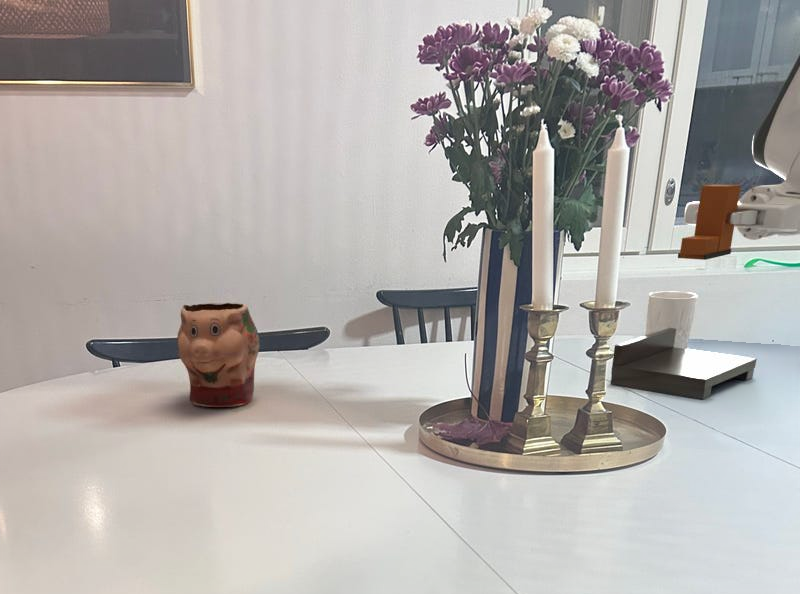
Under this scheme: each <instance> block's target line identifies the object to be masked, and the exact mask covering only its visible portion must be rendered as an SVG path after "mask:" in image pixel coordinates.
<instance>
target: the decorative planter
mask: <svg viewBox="0 0 800 594" xmlns="http://www.w3.org/2000/svg"><path fill="white" fill-rule="evenodd" d="M180 321H181V324H180V325H179V329H178V332H177V338H176V344H177V345H176V346H177V354H178V356H179V359H180V360H181V363H183V365H184V367H185V369H186V371H187V375H188V380H189V387H190V388H189V402H190V403H192V402H193V403H192V404H193V405H196V406H201V407H212V408H213V407H215V408H217V407H218V408H224V407H225V408H227V407H237V406H242V405H246V404H248V403H250V402H251V401H252V399H253V396H254V391H255V369H256V363H257V359H258V355H259V351H260V335H259V332H258V328H257V327H256V324H255V323H254V321H253V319H252V316H251V314H250V310H249V308H248V306H247V305H246V304H244V303H239V302H238V303H237V302H223V303H220V302H219V303H218V302H217V303H216V302H209V303H197V304H196V303H195V304H190V305H187V304H183V306H182V307H181V310H180Z"/></svg>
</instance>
